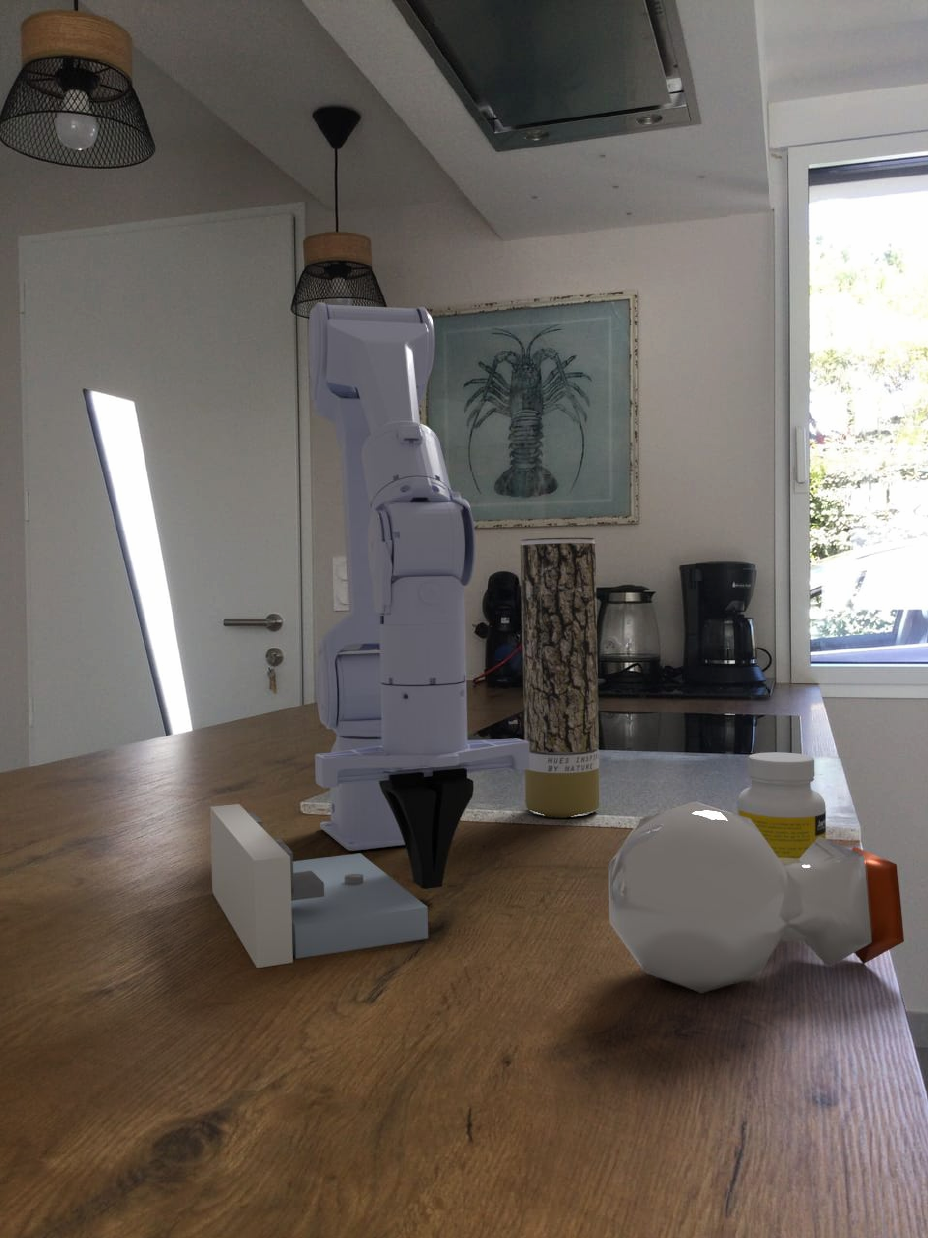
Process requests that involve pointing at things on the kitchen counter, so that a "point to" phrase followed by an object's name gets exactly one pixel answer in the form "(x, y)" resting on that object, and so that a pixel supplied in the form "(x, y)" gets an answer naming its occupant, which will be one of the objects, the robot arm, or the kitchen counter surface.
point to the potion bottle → (742, 898)
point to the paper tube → (560, 675)
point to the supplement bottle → (784, 802)
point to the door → (354, 909)
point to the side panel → (256, 884)
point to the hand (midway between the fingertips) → (427, 884)
